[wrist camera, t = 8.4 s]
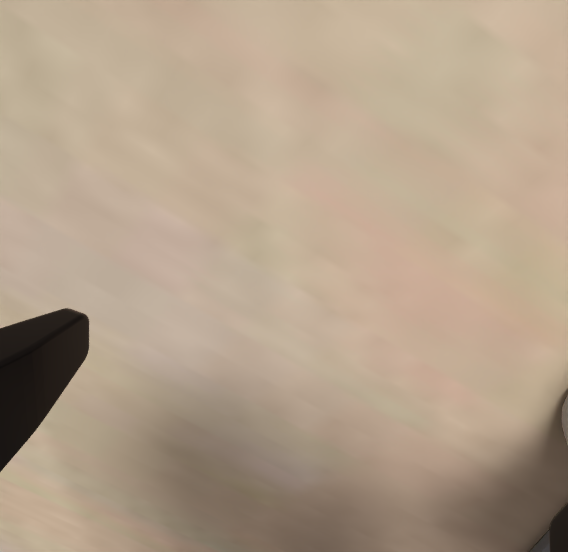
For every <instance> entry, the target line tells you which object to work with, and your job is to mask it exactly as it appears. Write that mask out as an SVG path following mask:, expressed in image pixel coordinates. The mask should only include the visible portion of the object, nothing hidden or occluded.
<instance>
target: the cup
mask: <svg viewBox="0 0 568 552" xmlns="http://www.w3.org/2000/svg"><path fill="white" fill-rule="evenodd" d="M561 423H562V427H563V432H564V436H565V439H566V442H567V445H568V395H567V397H566V400H565V402H564V404H563V406H562V420H561Z"/></svg>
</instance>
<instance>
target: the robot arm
mask: <svg viewBox="0 0 568 552" xmlns="http://www.w3.org/2000/svg"><path fill="white" fill-rule="evenodd" d="M88 350H89V319H88V317H87V315H85V314H83V313H81V312H78V311H75V310H72V309H68V308H65V309H61V310H58V311H54V312H51V313H48V314H45V315H42V316H38V317H35V318H32V319H29V320H25V321H22V322H19V323H16V324H13V325H9V326H6V327H3V328H0V472H1V471H2V469H3V468H4V467H5V466H6V465H7V463H8V462H9V461H10V460H11V459H12V458H13V456H14V455H15V454H16V453H17V452H18V451H19V449H20V448H21V447H22V446H23V445H24V444H25V442H26V441H27V440H28V439H29V438H30V436H31V435H32V434H33V433H34V432H35V430H36V429H37V428H38V427H39V425H40V424H41V422H42V421H43V420H44V418H45V417H46V416H47V414H48V413H49V411H50V410H51V408H52V407H53V405H54V404H55V402H56V401H57V400H58V398H59V397H60V395H61V394H62V392H63V391H64V389H65V388H66V386H67V385H68V384H69V382H70V381H71V379H72V378H73V376H74V375H75V373H76V372H77V370H78V369H79V367H80V366H81V365H82V363H83V362H84V360H85V358H86V356H87V354H88ZM549 542H550V552H568V503H567V504H566V505H565V506H564V507H563V508H562V509H561V510H560V511H559V512H558V514H557V515H556V516H555V517H554V518H553V520H552V522H551V525H550V530H549Z"/></svg>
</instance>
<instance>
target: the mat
mask: <svg viewBox="0 0 568 552" xmlns="http://www.w3.org/2000/svg"><path fill="white" fill-rule="evenodd" d="M530 552H550V542H549V531H548V532H547V533H546V534H545V535H544V536H543V538H542V539H541V540H540V541H539V542H538V543H537V544H536V545H535V546H534V547H533V549H532V550H531V551H530Z"/></svg>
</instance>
